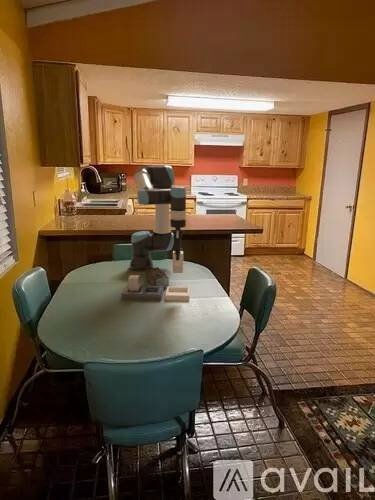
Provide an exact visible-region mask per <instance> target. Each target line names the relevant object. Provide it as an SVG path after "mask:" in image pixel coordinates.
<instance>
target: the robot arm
mask: <svg viewBox="0 0 375 500" xmlns="http://www.w3.org/2000/svg"><path fill="white" fill-rule="evenodd" d="M132 178H133V183H134V184H135V185H136V186H137V189H138V190H137V193H136V196H137V200H136V201H137V204H138V205H141V206H143V205H144V206H149V205H150V206H151V205H152V206H153V205H154V207H155V210H154V212H155V217H154V218H155V220H154V222H155V228H153V230H152V233H151V232H150V231H148V230H143V231H137V232H134V233H133V234H131V241H130V243H131V257H130V258H131V259H130V262H129V269H130V270H132V271H135V272H144V271H145V272H146V269H148V268H154V262H153V260H152V257H151V253H152V252H166V251H167V252H168V251H171V250H172V249H173V246H174V251H175V253H174V254H175V266H180V263H181V253H180V251H183V248H182V239H183V238H182V235H183V229H182V228H186V224H187V223H186V221H187V220H186V217H187V210H186V209H187V207H186V206H187V205H186V204H187V190H186V187H185V186H174V185H175V182H176V181H175V173H174V169H173V168H172V166H171V165H165V164H164V165H163V164H162V165H161V164H159V165H156V164H155V165H148V164H147V165H143V166H141V167H138V168H137V169H136V171H135V172H134V174H133V177H132ZM171 228H175V229H174V230H173V232H172V229H171Z"/></svg>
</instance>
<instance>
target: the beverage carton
mask: <svg viewBox="0 0 375 500" xmlns="http://www.w3.org/2000/svg"><path fill="white" fill-rule="evenodd" d="M145 275H146V279H147V280H148V281H149V282H150V284H151V286H164V288H167V287H170V285H169V284H170V282H169V276H167V274H165V272H164V271H163V270H162V269H161V268H160V267H158V266H157V267H153V268H148V269H146V271H145Z"/></svg>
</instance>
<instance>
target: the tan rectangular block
mask: <svg viewBox="0 0 375 500" xmlns="http://www.w3.org/2000/svg"><path fill="white" fill-rule="evenodd" d="M174 253H175V250H173V251H172V273H173V274H183V273H184V251H183V250H181V251H180V253H181V263H180V266H175V254H174Z"/></svg>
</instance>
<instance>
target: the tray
mask: <svg viewBox="0 0 375 500" xmlns="http://www.w3.org/2000/svg"><path fill="white" fill-rule="evenodd" d="M190 290H191V287H190V286H169V287H166V291H165V297H164V298H165V301H190V293H191V291H190Z"/></svg>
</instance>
